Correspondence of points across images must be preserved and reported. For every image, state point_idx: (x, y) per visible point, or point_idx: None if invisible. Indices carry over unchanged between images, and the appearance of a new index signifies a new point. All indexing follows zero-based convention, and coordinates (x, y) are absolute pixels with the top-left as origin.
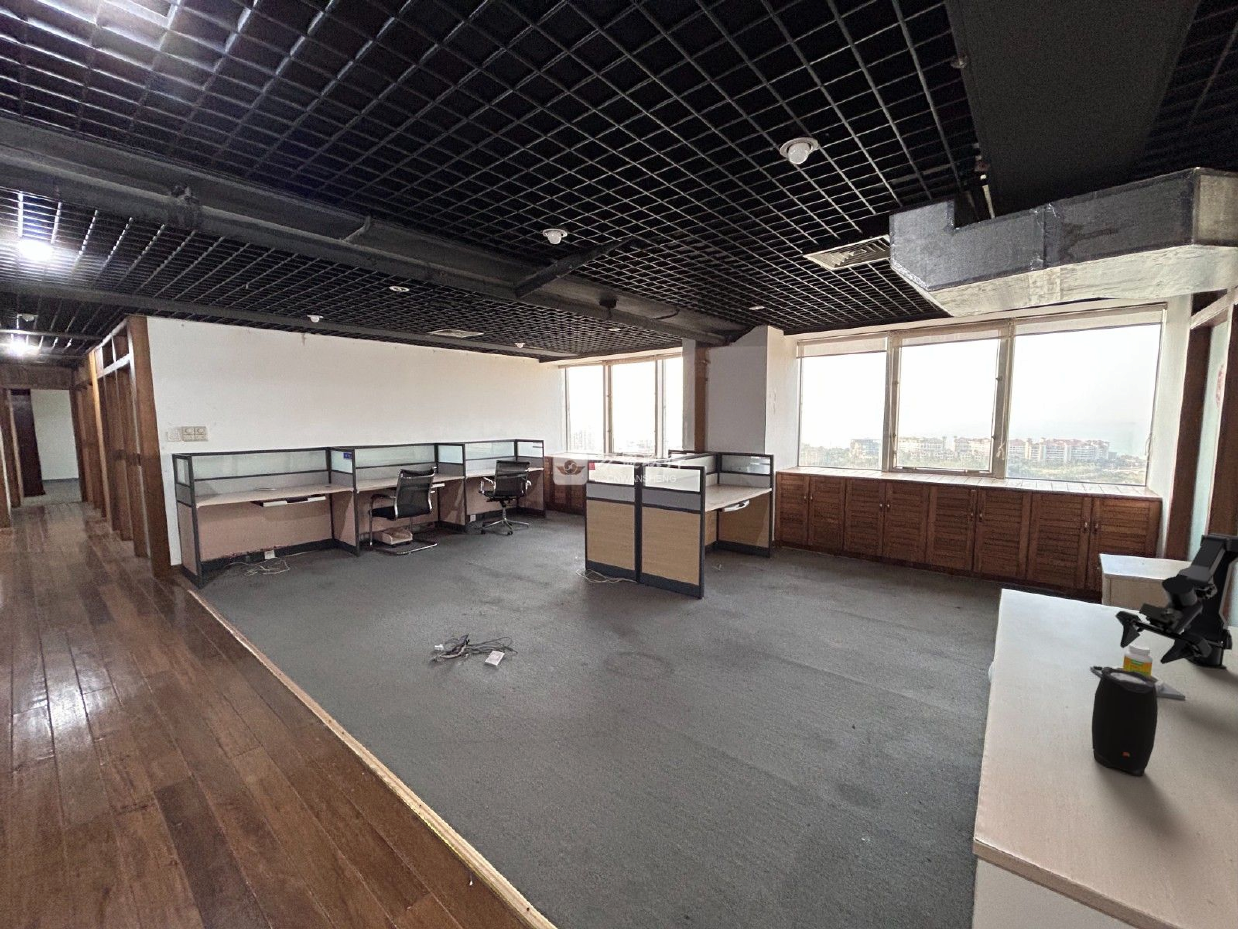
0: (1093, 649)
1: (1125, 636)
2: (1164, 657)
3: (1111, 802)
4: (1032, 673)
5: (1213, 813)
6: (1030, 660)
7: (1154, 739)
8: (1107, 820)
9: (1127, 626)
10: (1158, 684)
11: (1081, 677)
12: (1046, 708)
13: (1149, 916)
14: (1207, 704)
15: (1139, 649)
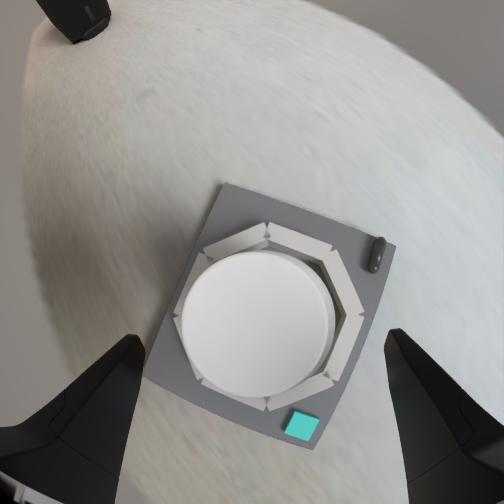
0: None
1: (435, 389)
2: (109, 354)
3: None
4: (350, 59)
5: (32, 67)
6: (435, 117)
7: (47, 16)
8: None
9: (500, 453)
10: (180, 322)
11: (333, 156)
12: (204, 9)
13: None
14: None
15: (212, 267)
